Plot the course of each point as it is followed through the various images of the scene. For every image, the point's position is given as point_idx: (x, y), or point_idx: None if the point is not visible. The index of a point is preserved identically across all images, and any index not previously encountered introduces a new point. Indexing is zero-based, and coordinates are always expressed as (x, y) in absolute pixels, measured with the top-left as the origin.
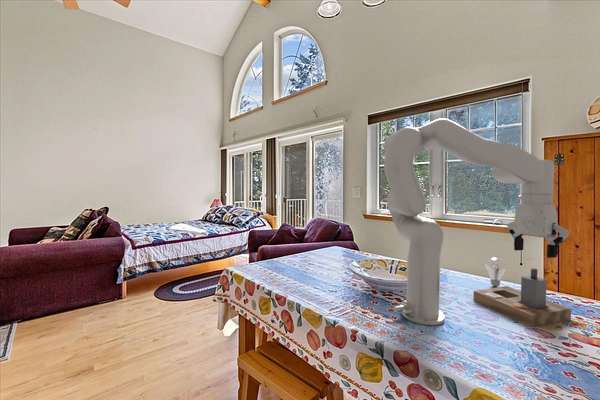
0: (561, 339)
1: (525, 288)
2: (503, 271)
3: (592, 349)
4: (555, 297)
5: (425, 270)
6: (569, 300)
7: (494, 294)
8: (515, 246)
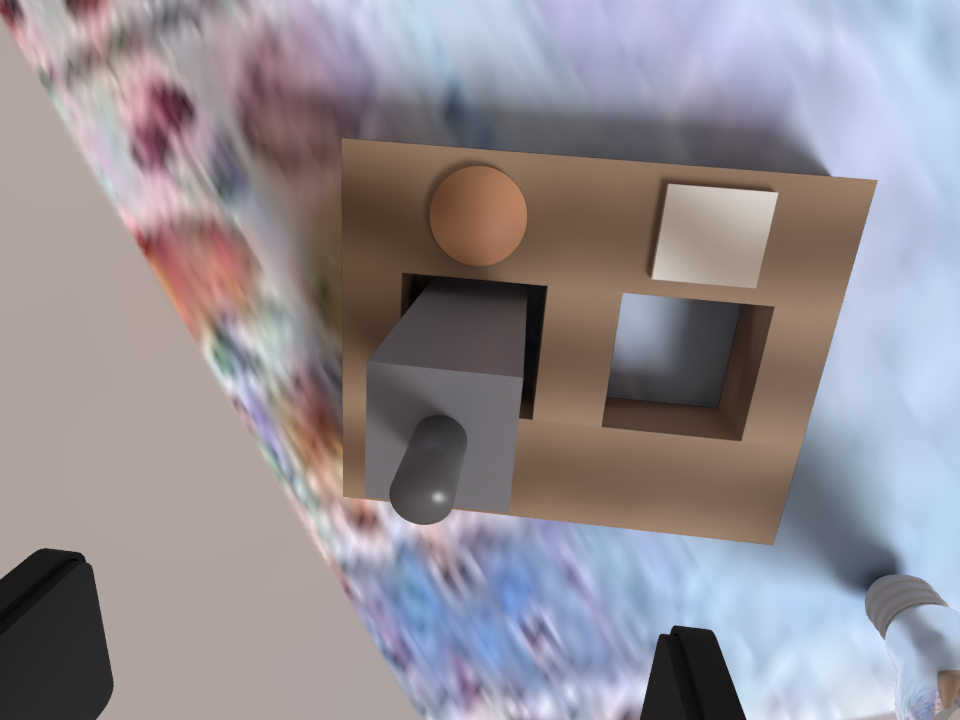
0: (215, 141)
1: (484, 336)
2: (900, 695)
3: (106, 181)
4: (578, 701)
5: None
6: (520, 714)
7: (712, 256)
8: (706, 693)
